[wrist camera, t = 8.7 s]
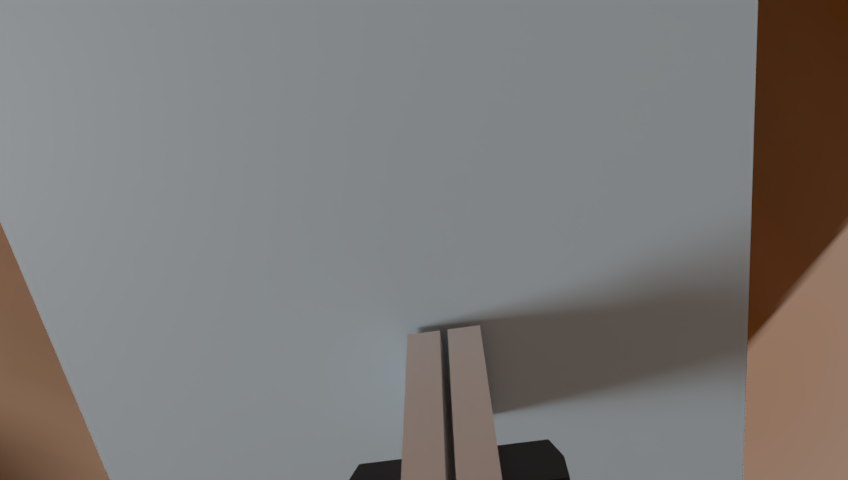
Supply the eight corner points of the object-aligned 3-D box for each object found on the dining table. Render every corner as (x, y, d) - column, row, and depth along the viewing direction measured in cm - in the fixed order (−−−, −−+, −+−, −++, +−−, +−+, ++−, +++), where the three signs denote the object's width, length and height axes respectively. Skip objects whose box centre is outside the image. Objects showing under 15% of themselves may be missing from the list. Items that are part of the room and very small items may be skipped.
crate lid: (721, 602, 21) (738, 639, 20) (211, 654, 22) (199, 691, 21) (735, -146, 13) (763, -155, 12) (-56, -9, 14) (-96, -6, 13)
